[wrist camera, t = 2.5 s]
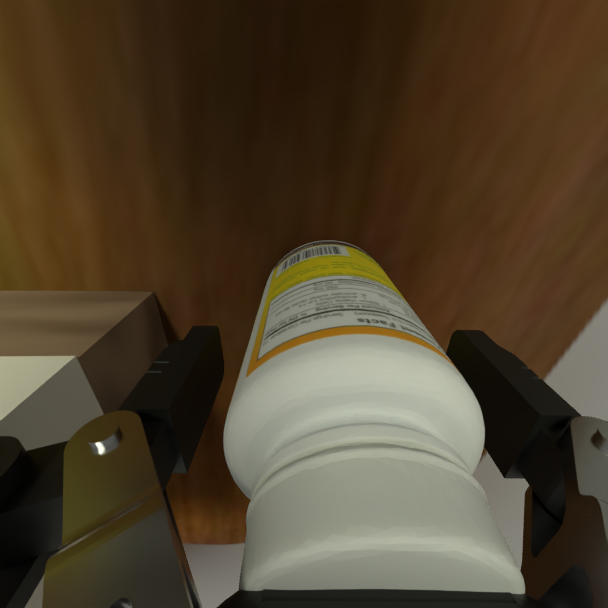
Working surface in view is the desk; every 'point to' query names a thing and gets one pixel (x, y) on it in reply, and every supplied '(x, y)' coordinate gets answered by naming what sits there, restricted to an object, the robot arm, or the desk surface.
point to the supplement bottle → (357, 441)
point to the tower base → (87, 334)
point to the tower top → (44, 406)
